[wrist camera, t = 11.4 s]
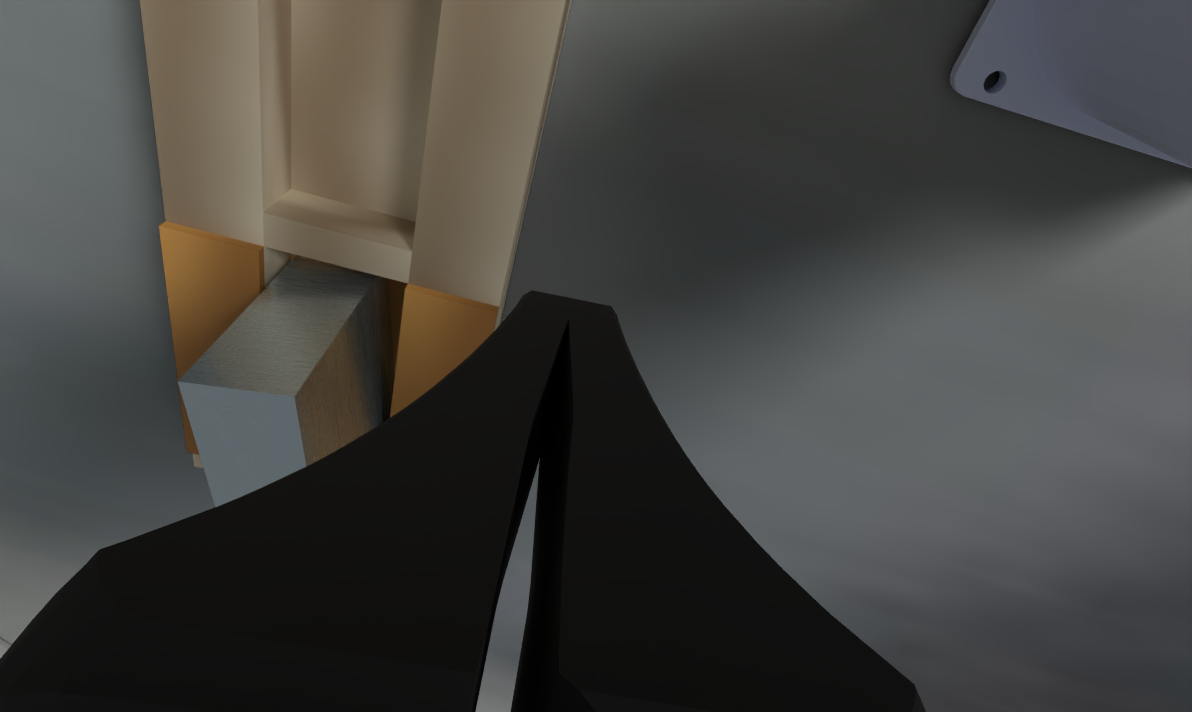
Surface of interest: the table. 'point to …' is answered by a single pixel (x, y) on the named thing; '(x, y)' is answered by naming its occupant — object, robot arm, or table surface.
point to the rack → (349, 158)
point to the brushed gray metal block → (292, 377)
